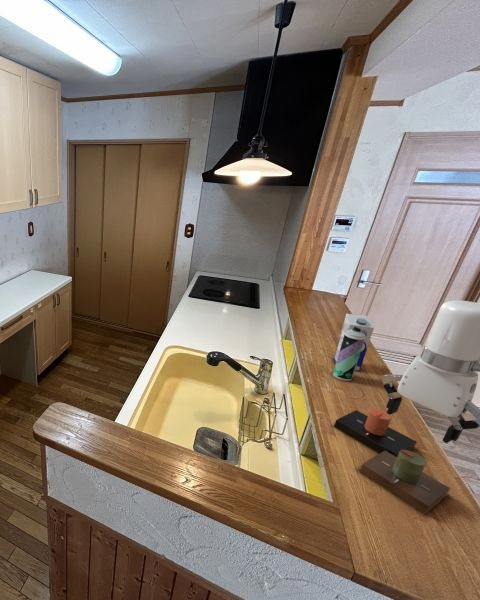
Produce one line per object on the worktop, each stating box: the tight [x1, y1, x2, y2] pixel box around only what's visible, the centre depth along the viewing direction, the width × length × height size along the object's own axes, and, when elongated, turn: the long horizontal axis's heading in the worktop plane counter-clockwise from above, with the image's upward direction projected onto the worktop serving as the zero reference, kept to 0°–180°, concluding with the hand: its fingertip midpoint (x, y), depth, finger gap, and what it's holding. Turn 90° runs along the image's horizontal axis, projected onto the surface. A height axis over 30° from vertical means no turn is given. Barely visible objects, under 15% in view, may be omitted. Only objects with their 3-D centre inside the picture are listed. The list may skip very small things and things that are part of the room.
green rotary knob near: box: [392, 450, 427, 483], centre depth 74 cm, size 4×4×6 cm
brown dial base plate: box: [359, 451, 451, 515], centre depth 76 cm, size 12×10×3 cm
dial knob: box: [364, 408, 393, 436], centre depth 88 cm, size 4×4×6 cm
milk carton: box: [333, 313, 375, 372], centre depth 121 cm, size 7×7×20 cm
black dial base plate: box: [333, 409, 417, 457], centre depth 89 cm, size 14×10×3 cm
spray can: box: [332, 326, 365, 382], centre depth 114 cm, size 6×6×20 cm
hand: (418, 425), depth 73 cm, fingers open, 9 cm apart
